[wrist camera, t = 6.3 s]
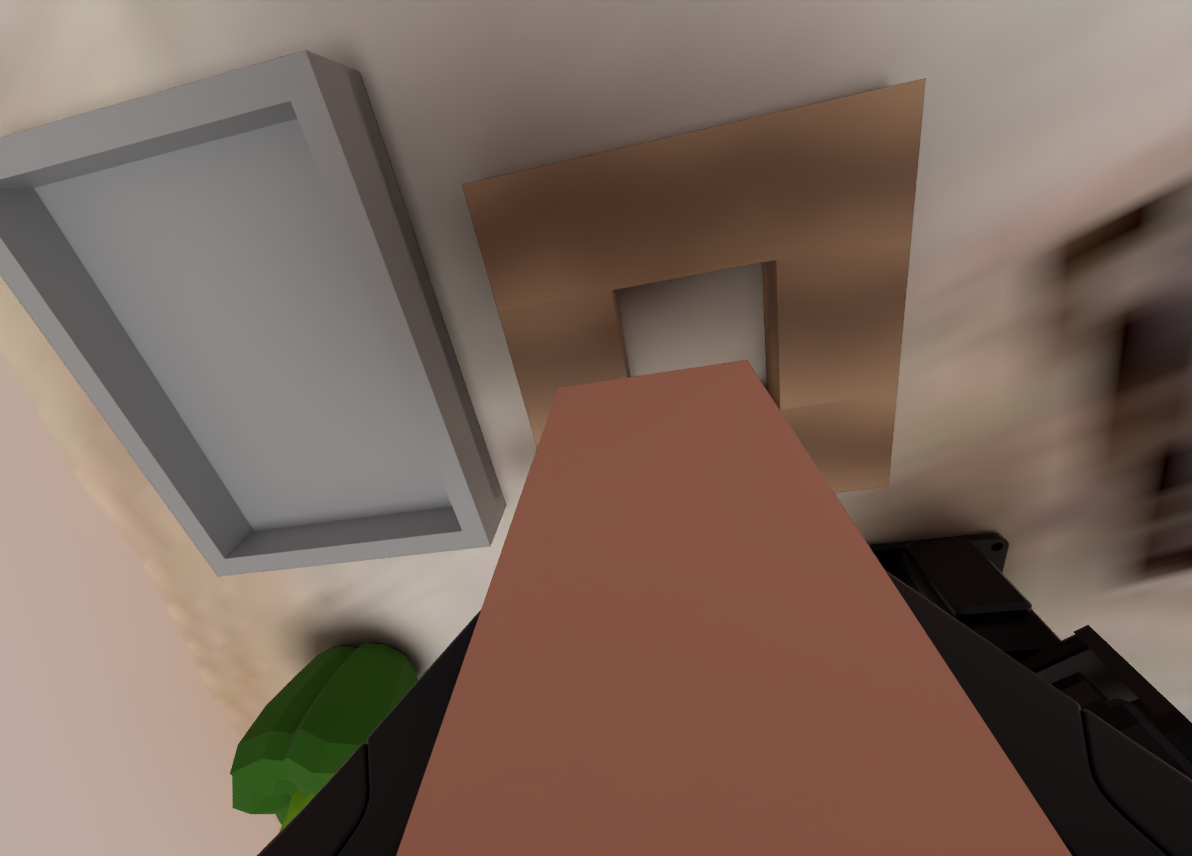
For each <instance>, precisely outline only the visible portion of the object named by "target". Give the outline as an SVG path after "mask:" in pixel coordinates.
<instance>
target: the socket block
mask: <svg viewBox="0 0 1192 856" xmlns="http://www.w3.org/2000/svg"><path fill="white" fill-rule="evenodd" d="M925 80H926V78H925V79H920V80H916V81H911V82H907V83H903V84H898V85H894V86H890V87H885V88H881V89H877V90H872V91H868V92H863V93H859V94H855V95H850V96H846V97H842V98H837V99H833V100H829V101H824V102H820V103H815V104H811V105H807V106H802V107H798V108H794V109H789V110H785V111H781V112H776V113H772V114H767V115H763V116H759V117H754V118H750V119H746V120H741V121H737V122H733V123H728V124H724V125H719V126H715V127H711V128H706V129H702V130H698V131H693V132H689V133H685V134H680V135H676V136H671V137H667V138H663V139H658V140H654V141H650V142H645V143H641V144H637V145H632V146H628V147H623V148H619V149H615V150H610V151H606V152H602V153H597V154H593V155H589V156H584V157H580V158H575V159H571V160H567V161H562V162H558V163H554V164H549V165H545V166H541V167H536V168H532V169H527V170H523V171H519V172H514V173H510V174H506V175H501V176H497V177H493V178H488V179H484V180H479V181H475V182H471V183H466V184H462V186H463V190H464V193H465V197H466V200H467V204H468V207H469V211H470V214H471V218H472V221H473V225H474V228H475V232H476V235H477V239H478V242H479V246H480V249H481V253H482V256H483V260H484V263H485V267H486V270H487V274H488V277H489V281H490V284H491V288H492V292H493V295H494V299H495V302H496V306H497V309H498V313H499V316H500V320H501V323H502V327H503V330H504V334H505V337H506V341H507V344H508V348H509V351H510V355H511V358H512V362H513V365H514V369H515V372H516V376H517V379H518V383H519V386H520V390H521V393H522V397H523V400H524V404H525V407H526V411H527V414H528V418H529V421H530V425H531V428H532V432H533V435H534V439H535V443H536V446H537V447H538V444H539V442H540V439H541V436H542V433H543V430H544V427H545V424H546V421H547V418H548V416H549V413H550V410H551V407H552V404H553V401H554V398H555V395H556V392H557V390H558V388H561V387H568V386H575V385H582V384H588V383H595V382H602V381H608V380H615V379H622V378H629V377H630V372H629V367H628V361H627V355H626V349H625V343H624V338H623V332H622V326H621V320H620V315H619V309H618V303H617V297H616V291H615V290H617V289H622V288H627V287H633V286H638V285H644V284H649V283H654V282H660V281H665V280H670V279H676V278H681V277H687V276H692V275H697V274H703V273H708V272H713V271H719V270H724V269H730V268H735V267H740V266H746V265H751V264H756V263H762V268H763V294H764V320H765V346H766V372H767V391H768V393H769V394H770V396H771V398H772V399H773V401H774V402H775V404H776V405H777V407H778V408H779V410H780V411H781V413H782V414H783V416H784V417H785V419H786V420H787V422H788V423H789V425H790V426H791V428H792V430H793V431H794V433H795V434H796V436H797V437H798V439H799V440H800V442H801V443H802V445H803V446H804V448H805V449H806V451H807V452H808V454H809V455H810V457H811V459H812V460H813V462H814V463H815V465H816V466H817V468H818V469H819V471H820V472H821V474H822V475H823V477H824V478H825V480H826V481H827V483H828V484H829V486H830V487H831V489H832V491H833V492H843V491H852V490H860V489H869V488H878V487H886V486H888V485H889V474H890V463H891V452H892V441H893V430H894V419H895V408H896V397H897V386H898V375H899V364H900V354H901V343H902V332H903V321H904V310H905V299H906V288H907V277H908V266H909V255H910V244H911V233H912V222H913V212H914V201H915V190H916V179H917V168H918V157H919V146H920V135H921V124H922V113H923V102H924V91H925Z"/></svg>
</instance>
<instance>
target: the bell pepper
mask: <svg viewBox="0 0 1192 856" xmlns="http://www.w3.org/2000/svg"><path fill="white" fill-rule="evenodd" d="M417 681H418V679H417V674H416V668H415V667H414V666H413V665H412V664H411V662H410V661H409V660H408V659H407V658H406V656H405V655H404V654H402V653H400V652H398V651H396V650H394V649H392V648H390V647H388V646H386V645H384V644H373V643H364V644H362V645H361V646H360V647H358V648H357V649H355V648H352V647H350V646H339V647H333V648H331V649H329V650H327V651H325V652H323V653H321V654H319V655H318V656H317V657H316V658H315V659H313V660H312V661H311V662H310V663H309V664H308V665H307V666H306V667H305V668H304V669H303V670H301V671H300V672H299V673H298V674H297V675H296V676H295V677H294V678H293V679H292V680H291V681H290V682H289V683H288V684H287V685H286V686H285V687H284V688H283V689H282V690H281V691H280V692H279V693H278V694H277V695H276V696H275V697H274V698H273V699H272V700H271V701H270V702H269V703H268V704H267V705H266V706H265V708H264V709H263V711H262V712H261V713H260V715H259V716H258V718H257V719H256V720H255V722H254V723H253V725H252V726H251V727H250V729H249V730H248V731H247V733H246V734H245V736H244V737H243V738H242V740H241V741H240V743H239V744H238V747H237V750H236V754H235V758H234V761H233V765H232V769H231V772H230V774H231V775H232V776H233V778H232V780H233V808H235V809H238V810H240V811H243V812H246V813H249V814H276V816H277V818H278V820H279V822H280V823H281V824H282V827H281V830H280V832H281V831H282V830H283V829H284V828H285V827H286V825H287V824H288V823H289V822H290V821H291V820H292V819H293V818H294V817H295V816H296V815H297V814H298V813H299V812H300V811H301V810H302V809H303V808H304V807H305V806H306V805H307V804H308V803H309V801H310V800H311V799H312V798H313V797H314V796H315V795H316V794H317V793H318V792H319V791H320V789H321V788H322V787H323V786H324V785H325V784H326V783H327V782H328V781H329V780H330V779H331V778H332V776H333V775H334V774H335V773H336V772H337V771H338V770H339V769H340V768H341V767H342V765H343V764H344V763H345V762H346V761H347V760H348V759H349V758H350V756H351V755H352V754H353V753H354V752H355V751H356V750H357V749H358V747H359V746H360V745H361V744H362V743H367V738H368V736H369V735H370V734H371V733H372V732H373V731H374V730H375V729H376V727H377V726H378V725H379V724H380V723H381V722H382V721H383V719H384V718H385V717H386V716H387V715H388V714H389V713H390V712H391V710H392V709H393V708H394V707H395V706H396V705H397V704H398V703H399V701H400V700H401V699H402V698H403V697H404V696H405V695H406V694H407V692H408V691H409V690H410V689H411V688H412V687H413V686H414V685H415V683H416V682H417ZM280 832H279V833H280Z"/></svg>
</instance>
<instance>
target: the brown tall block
mask: <svg viewBox="0 0 1192 856" xmlns="http://www.w3.org/2000/svg"><path fill="white" fill-rule="evenodd" d="M396 856H1072V855H1071V853H1070V852H1069V850H1068V849H1067V847H1066V846H1065V844H1064V843H1063V841H1062V840H1061V838H1060V837H1059V835H1058V833H1057V832H1056V830H1055V829H1054V827H1053V826H1052V824H1051V823H1050V821H1049V820H1048V818H1047V817H1046V815H1045V814H1044V812H1043V811H1042V809H1041V808H1040V806H1039V805H1038V803H1037V801H1036V800H1035V798H1034V797H1033V795H1032V794H1031V792H1030V791H1029V789H1028V788H1027V786H1026V785H1025V783H1024V782H1023V780H1022V779H1021V777H1020V776H1019V774H1018V773H1017V771H1016V769H1015V768H1014V766H1013V765H1012V763H1011V762H1010V760H1009V759H1008V757H1007V756H1006V754H1005V753H1004V751H1003V750H1002V748H1001V747H1000V745H999V744H998V742H997V740H996V739H995V737H994V736H993V734H992V733H991V731H990V730H989V728H988V727H987V725H986V724H985V722H984V721H983V719H982V718H981V716H980V715H979V713H978V712H977V710H976V708H975V707H974V705H973V704H972V702H971V701H970V699H969V698H968V696H967V695H966V693H965V692H964V690H963V689H962V687H961V686H960V684H959V683H958V681H957V680H956V678H955V676H954V675H953V673H952V672H951V670H950V669H949V667H948V666H947V664H946V663H945V661H944V660H943V658H942V657H941V655H940V654H939V652H938V651H937V649H936V648H935V646H934V644H933V643H932V641H931V640H930V638H929V637H928V635H927V634H926V632H925V631H924V629H923V628H922V626H921V625H920V623H919V622H918V620H917V619H916V617H915V616H914V614H913V612H912V611H911V609H910V608H909V606H908V605H907V603H906V602H905V600H904V599H903V597H902V596H901V594H900V593H899V591H898V590H897V588H896V587H895V585H894V583H893V582H892V580H891V579H890V577H889V576H888V574H887V573H886V571H885V570H884V568H883V567H882V565H881V564H880V562H879V561H878V559H877V558H876V556H875V555H874V553H873V551H872V550H871V548H870V547H869V545H868V544H867V542H866V541H865V539H864V538H863V536H862V535H861V533H860V532H859V530H858V529H857V527H856V526H855V524H854V523H853V521H852V519H851V518H850V516H849V515H848V513H847V512H846V510H845V509H844V507H843V506H842V504H841V503H840V501H839V500H838V498H837V497H836V495H835V494H834V492H833V491H832V489H831V487H830V486H829V484H828V483H827V481H826V480H825V478H824V477H823V475H822V474H821V472H820V471H819V469H818V468H817V466H816V465H815V463H814V462H813V460H812V459H811V457H810V455H809V454H808V452H807V451H806V449H805V448H804V446H803V445H802V443H801V442H800V440H799V439H798V437H797V436H796V434H795V433H794V431H793V430H792V428H791V426H790V425H789V423H788V422H787V420H786V419H785V417H784V416H783V414H782V413H781V411H780V410H779V408H778V407H777V405H776V404H775V402H774V401H773V399H772V398H771V396H770V394H769V393H768V391H767V390H766V388H765V387H764V385H763V384H762V382H761V381H760V379H759V378H758V376H757V375H756V373H755V372H754V370H753V369H752V367H751V366H750V364H749V362H748V361H747V360H743V361H737V362H730V363H723V364H716V365H710V366H703V367H696V368H689V369H683V370H676V371H669V372H662V373H656V374H649V375H642V376H635V377H629V378H622V379H615V380H608V381H602V382H595V383H588V384H582V385H575V386H568V387H561V388H558V390H557V392H556V395H555V398H554V401H553V404H552V407H551V410H550V413H549V416H548V418H547V421H546V424H545V427H544V430H543V433H542V436H541V439H540V442H539V444H538V447H537V450H536V453H535V456H534V459H533V462H532V465H531V468H530V470H529V473H528V476H527V479H526V482H525V485H524V488H523V491H522V494H521V496H520V499H519V502H518V505H517V508H516V511H515V514H514V517H513V520H512V523H511V525H510V528H509V531H508V534H507V537H506V540H505V543H504V546H503V549H502V551H501V554H500V557H499V560H498V563H497V566H496V569H495V572H494V575H493V577H492V580H491V583H490V586H489V589H488V592H487V595H486V598H485V601H484V603H483V606H482V609H481V612H480V615H479V618H478V621H477V624H476V627H475V629H474V632H473V635H472V638H471V641H470V644H469V647H468V650H467V653H466V655H465V658H464V661H463V664H462V667H461V670H460V673H459V676H458V679H457V682H456V684H455V687H454V690H453V693H452V696H451V699H450V702H449V705H448V708H447V710H446V713H445V716H444V719H443V722H442V725H441V728H440V731H439V734H438V736H437V739H436V742H435V745H434V748H433V751H432V754H431V757H430V760H429V762H428V765H427V768H426V771H425V774H424V777H423V780H422V783H421V786H420V788H419V791H418V794H417V797H416V800H415V803H414V806H413V809H412V812H411V814H410V817H409V820H408V823H407V826H406V829H405V832H404V835H403V838H402V841H401V843H400V846H399V849H398V852H397V855H396Z"/></svg>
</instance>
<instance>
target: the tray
mask: <svg viewBox="0 0 1192 856" xmlns="http://www.w3.org/2000/svg"><path fill="white" fill-rule="evenodd" d="M0 276H1V277H2V278H3V280H4V281H5V282H6V284H7V285H8V287H9V288H10V289H11V291H12V292H13V294H14V295H15V296H16V298H17V299H18V300H19V302H20V303H21V305H22V306H23V307H24V309H25V310H26V312H27V313H28V314H29V316H30V317H31V318H32V320H33V321H34V323H35V324H36V325H37V327H38V328H39V330H40V331H41V332H42V334H43V335H44V336H45V338H46V339H47V341H48V342H49V343H50V345H51V346H52V348H53V349H54V350H55V352H56V353H57V354H58V356H59V357H60V359H61V360H62V361H63V363H64V364H65V366H66V367H67V368H68V370H69V371H70V372H71V374H72V375H73V377H74V378H75V379H76V381H77V382H78V384H79V385H80V386H81V388H82V389H83V391H84V392H85V393H86V395H87V396H88V397H89V399H90V400H91V402H92V403H93V404H94V406H95V407H96V409H97V410H98V411H99V413H100V414H101V415H102V417H103V418H104V420H105V421H106V422H107V424H108V425H109V427H110V428H111V429H112V431H113V432H114V433H115V435H116V436H117V438H118V439H119V440H120V442H121V443H122V445H123V446H124V447H125V449H126V450H127V451H128V453H129V454H130V456H131V457H132V458H133V460H134V461H135V463H136V464H137V465H138V467H139V468H140V469H141V471H142V472H143V474H144V475H145V476H146V478H147V479H148V481H149V482H150V483H151V485H152V486H153V487H154V489H155V490H156V492H157V493H158V494H159V496H160V497H161V499H162V500H163V501H164V503H165V504H166V505H167V507H168V508H169V510H170V511H171V512H172V514H173V515H174V517H175V518H176V519H177V521H178V522H179V523H180V525H181V526H182V528H183V529H184V530H185V532H186V533H187V535H188V536H189V537H190V539H191V540H192V542H193V543H194V544H195V546H196V547H197V548H198V550H199V551H200V553H201V554H202V555H203V557H204V558H205V560H206V561H207V562H208V564H209V565H210V566H211V568H212V569H213V571H214V572H215V573H216V575H217V576H218V577H219V576H228V575H237V574H246V573H255V572H264V571H273V570H282V569H291V568H300V567H309V566H318V565H327V564H336V563H345V562H354V561H363V560H372V559H381V558H390V557H399V556H408V555H417V554H426V553H435V552H444V551H453V550H462V549H470V548H479V547H488V546H491V543H492V541H493V538H494V536H495V533H496V531H497V528H498V525H499V523H500V520H501V518H502V515H503V513H504V510H505V507H506V504H505V501H504V498H503V495H502V492H501V489H500V486H499V483H498V480H497V477H496V474H495V471H494V468H493V466H492V463H491V460H490V457H489V454H488V451H487V448H486V445H485V442H484V439H483V436H482V433H481V430H480V427H479V424H478V421H477V418H476V415H475V412H474V409H473V406H472V403H471V400H470V398H469V395H468V392H467V389H466V386H465V383H464V380H463V377H462V374H461V371H460V368H459V365H458V362H457V359H456V356H455V353H454V350H453V347H452V344H451V341H450V338H449V335H448V333H447V330H446V327H445V324H444V321H443V318H442V315H441V312H440V309H439V306H438V303H437V300H436V297H435V294H434V291H433V288H432V285H431V282H430V279H429V276H428V273H427V270H426V267H425V265H424V262H423V259H422V256H421V253H420V250H419V247H418V244H417V241H416V238H415V235H414V232H413V229H412V226H411V223H410V220H409V217H408V214H407V211H406V208H405V205H404V202H403V199H402V197H401V194H400V191H399V188H398V185H397V182H396V179H395V176H394V173H393V170H392V167H391V164H390V161H389V158H388V155H387V152H386V149H385V146H384V143H383V140H382V137H381V134H380V132H379V129H378V126H377V123H376V120H375V117H374V114H373V111H372V108H371V105H370V102H369V99H368V96H367V93H366V90H365V87H364V84H363V81H362V78H361V75H360V72H358V71H355V70H353V69H350V68H348V67H345V66H343V65H340V64H338V63H336V62H333V61H331V60H328V59H326V58H323V57H321V56H318V55H316V54H313V53H311V52H309V51H306V50H304V51H301V52H297V53H294V54H290V55H287V56H283V57H280V58H276V59H273V60H269V61H266V62H262V63H259V64H255V65H252V66H248V67H245V68H241V69H238V70H234V71H231V72H227V73H224V74H220V75H217V76H213V77H210V78H207V79H203V80H200V81H196V82H193V83H189V84H186V85H182V86H179V87H175V88H172V89H168V90H165V91H161V92H158V93H154V94H151V95H147V96H144V97H140V98H137V99H133V100H130V101H126V102H123V103H119V104H116V105H112V106H109V107H105V108H102V109H99V110H95V111H92V112H88V113H85V114H81V115H78V116H74V117H71V118H67V119H64V120H60V121H57V122H53V123H50V124H46V125H43V126H39V127H36V128H32V129H29V130H25V131H22V132H18V133H15V134H11V135H8V136H4V137H1V138H0Z"/></svg>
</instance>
